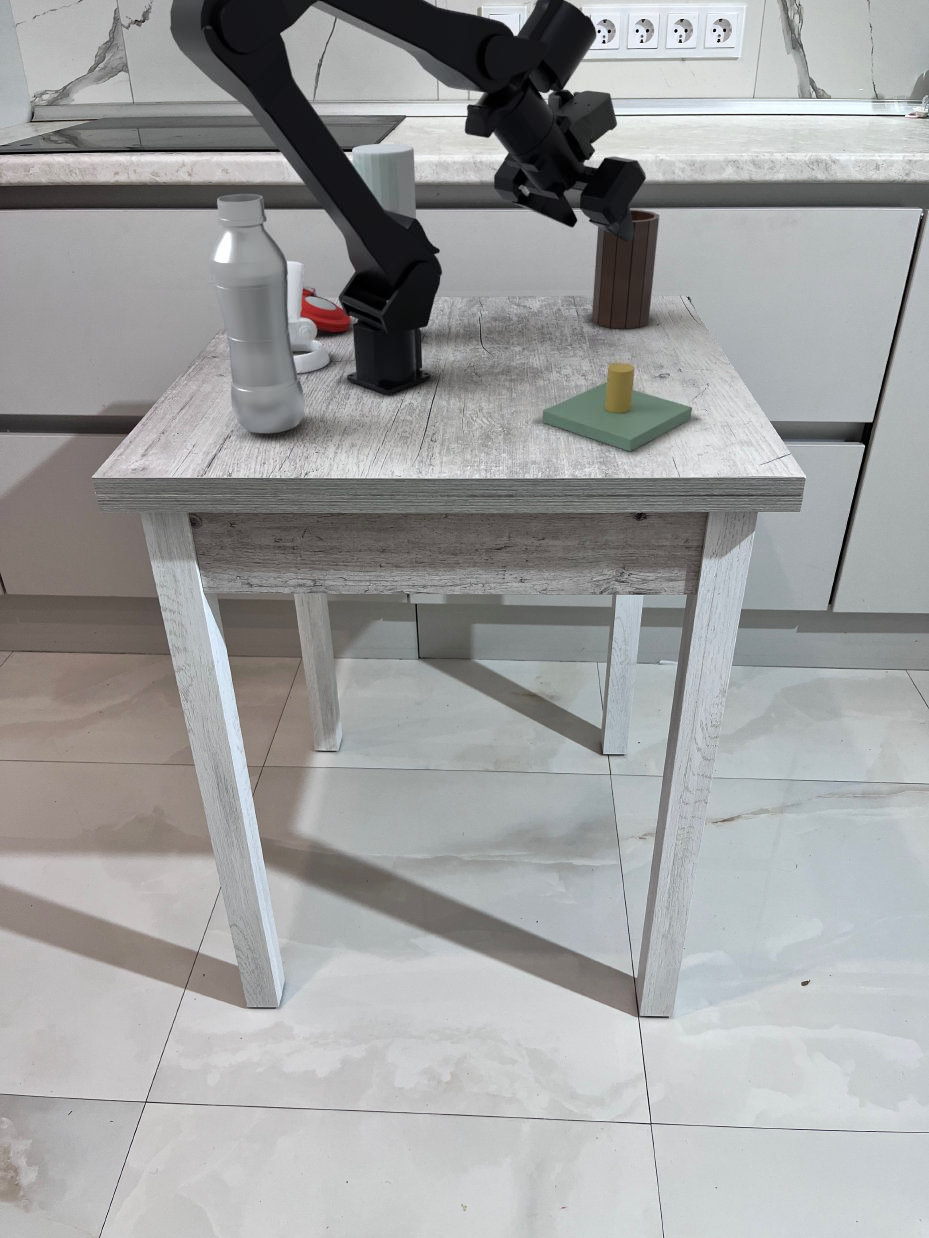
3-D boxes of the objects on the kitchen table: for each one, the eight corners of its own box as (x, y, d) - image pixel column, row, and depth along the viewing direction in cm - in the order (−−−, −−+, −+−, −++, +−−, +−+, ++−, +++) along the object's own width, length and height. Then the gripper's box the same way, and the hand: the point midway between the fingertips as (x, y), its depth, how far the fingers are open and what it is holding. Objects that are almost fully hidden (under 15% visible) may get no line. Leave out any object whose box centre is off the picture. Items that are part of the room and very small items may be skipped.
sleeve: (627, 332, 110) (636, 224, 103) (581, 321, 114) (587, 216, 107) (659, 319, 114) (670, 214, 107) (613, 308, 118) (622, 206, 111)
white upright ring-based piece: (329, 290, 107) (338, 267, 100) (323, 393, 107) (332, 377, 100) (263, 279, 105) (267, 255, 98) (256, 385, 104) (260, 367, 98)
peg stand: (630, 451, 82) (635, 395, 79) (542, 422, 88) (544, 368, 85) (690, 419, 88) (698, 365, 85) (605, 393, 94) (609, 342, 91)
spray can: (354, 340, 109) (339, 150, 97) (388, 325, 113) (377, 142, 102) (398, 350, 106) (388, 154, 94) (431, 334, 110) (426, 146, 99)
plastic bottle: (312, 436, 86) (287, 202, 74) (238, 446, 84) (200, 208, 73) (302, 411, 91) (277, 188, 79) (232, 419, 89) (195, 193, 78)
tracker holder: (369, 317, 112) (301, 314, 105) (359, 351, 114) (293, 351, 107) (312, 274, 118) (244, 269, 111) (304, 308, 120) (237, 305, 113)
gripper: (641, 67, 87) (705, 181, 99) (516, 57, 100) (586, 160, 111) (574, 169, 88) (645, 270, 100) (457, 147, 101) (533, 239, 112)
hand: (601, 231), depth 106 cm, fingers open, 9 cm apart
